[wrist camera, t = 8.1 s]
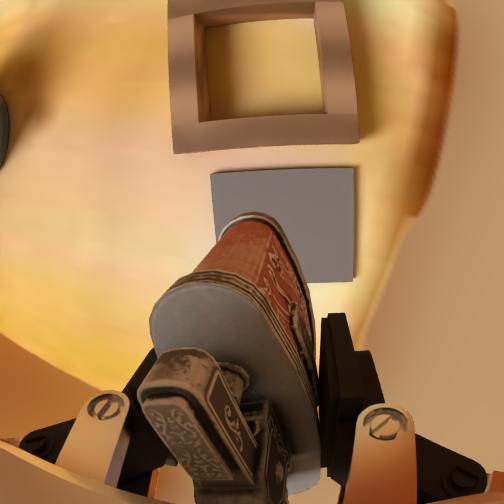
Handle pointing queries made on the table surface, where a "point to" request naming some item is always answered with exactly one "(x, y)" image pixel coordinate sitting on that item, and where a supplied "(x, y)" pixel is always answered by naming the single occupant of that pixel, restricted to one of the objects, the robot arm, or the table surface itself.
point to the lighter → (238, 370)
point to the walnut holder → (263, 127)
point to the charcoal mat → (297, 213)
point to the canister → (3, 129)
